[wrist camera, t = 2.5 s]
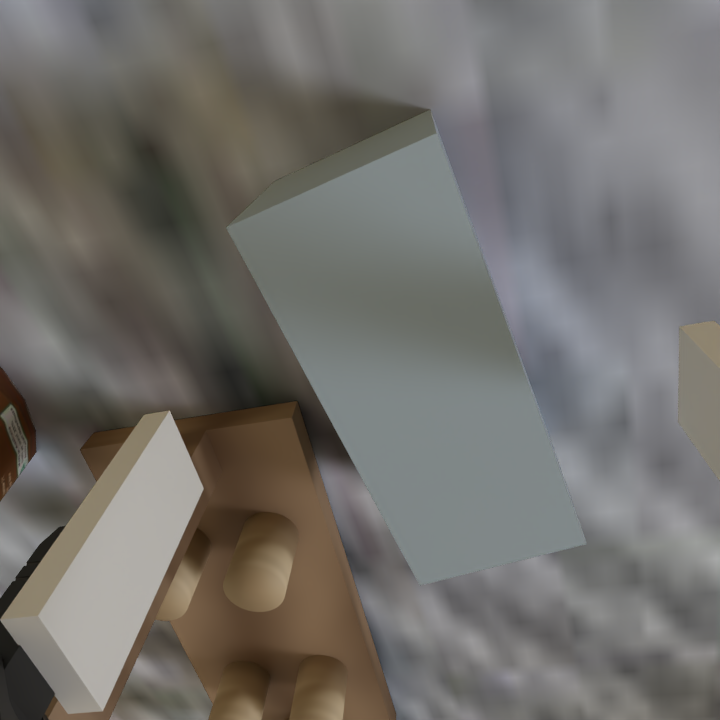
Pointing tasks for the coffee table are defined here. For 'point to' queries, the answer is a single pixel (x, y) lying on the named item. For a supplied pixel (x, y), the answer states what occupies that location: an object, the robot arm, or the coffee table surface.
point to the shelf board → (411, 351)
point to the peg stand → (259, 579)
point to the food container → (14, 434)
